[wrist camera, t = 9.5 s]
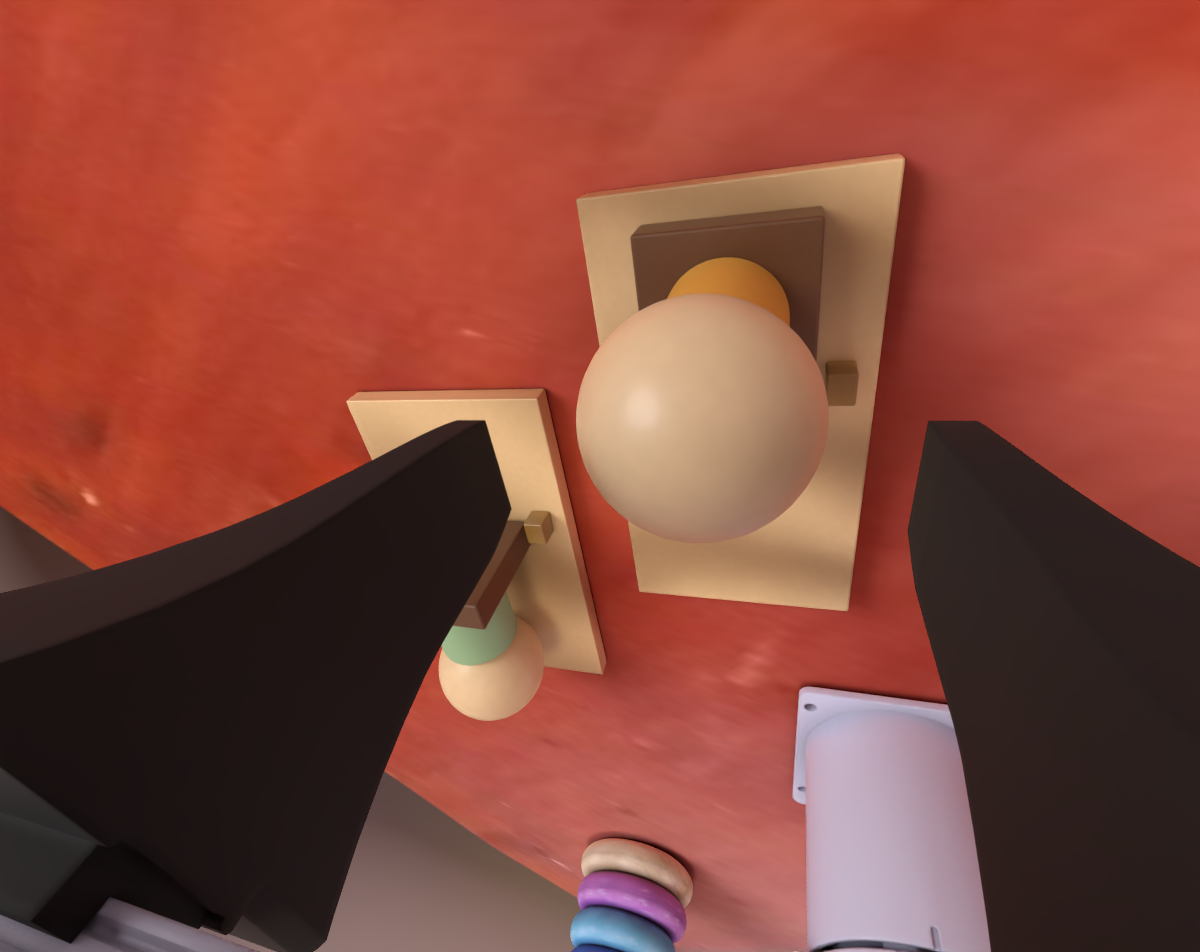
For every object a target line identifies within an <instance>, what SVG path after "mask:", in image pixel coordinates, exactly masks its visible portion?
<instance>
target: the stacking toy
mask: <svg viewBox="0 0 1200 952" xmlns="http://www.w3.org/2000/svg"><path fill="white" fill-rule="evenodd" d="M581 866H582V871H583V874H584V876H585V878H584V879H583V881H582V882H581V884H580V886H579V889H578V903H579V906H580V908H581V911H580V912H579V913H578V914H577V915H576V916H575V918H574V920H573V922H572V926H571V932H570V934H571V940H572V943H573V945H574V947H575V948H574V950H572V951H571V952H675V948H674V945H673V943H675V942H677V941H679V940H680V939H681V938H682V936H683V935H684V933H685V930H686V914H685V911H684V908H685V907H686V906H687V905H688V904H689V902H690V901H691V898H692V894H693V884H692V881H691V878H690V876H689V874H688V872H687V871H686V869H685V868H684V867H683V866H682V865H681V864H680V863H679V862H678V861H677V860H676V859H674V858H673V857H672V856H670V855H669V854H667V853H665V852H663V851H661V850H659V849H657V848H654V847H652V846H649V845H647V844H644V843H640V842H636V841H632V840H627V839H619V838H607V839H601V840H598V841H595V842H593V843H592V844H590V845H589V846H588V847H587V848H586V850H585V852H584V854H583V856H582V862H581Z"/></svg>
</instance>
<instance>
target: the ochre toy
mask: <svg viewBox="0 0 1200 952" xmlns="http://www.w3.org/2000/svg"><path fill="white" fill-rule="evenodd" d="M824 231H825V214H824V209H823V207H822V206H815V207H806V208H797V209H787V210H778V211H768V212H759V213H749V214H740V215H731V216H721V217H712V218H702V219H693V220H683V221H674V222H665V223H655V224H646V225H641V226H639V227H638V228H637V229H636V231H635V232H634V233H633V234H632V235H631V237H630V242H631V250H632V259H633V267H634V276H635V285H636V293H637V302H638V310H639V312H637V313H635V314H634V315H632V316H631V317H629V318H628V319H627V320H626V321H624V322H623V323H622V324H620V325H619V326H618V327H617V328H616V329H615V330H614V331H613V332H612V333H611V334H610V335H609V336H608V337H607V338H606V340H605V341H604V342H603V343H602V345H601V346H600V348H599V349H598V351H597V352H596V353H595V355H594V357H593V359H592V361H591V363H590V365H589V367H588V369H587V371H586V373H585V375H584V378H583V381H582V384H581V388H580V392H579V397H578V403H577V409H576V430H577V438H578V445H579V449H580V452H581V456H582V459H583V462H584V465H585V468H586V470H587V472H588V474H589V476H590V478H591V480H592V482H593V483H594V485H595V486H596V488H597V489H598V491H599V492H600V494H601V495H602V497H603V498H604V499H605V500H606V501H607V502H608V503H609V504H610V505H611V506H612V507H613V509H614V510H615V511H616V512H618V513H619V514H620V515H621V516H623V517H624V518H625V519H627V520H628V521H629V522H631V523H632V524H634V525H635V526H637V527H639V528H641V529H643V530H645V531H647V532H649V533H652V534H654V535H656V536H659V537H662V538H665V539H668V540H673V541H678V542H686V543H715V542H721V541H727V540H731V539H735V538H739V537H742V536H745V535H748V534H750V533H752V532H754V531H756V530H758V529H760V528H762V527H764V526H766V525H767V524H769V523H770V522H772V521H774V520H775V519H776V518H778V517H779V516H780V515H781V514H783V513H784V512H785V511H786V510H787V509H788V508H789V507H791V506H792V505H793V503H794V502H795V501H796V500H797V499H798V498H799V497H800V495H801V494H802V493H803V491H804V490H805V489H806V488H807V486H808V484H809V483H810V481H811V479H812V477H813V476H814V474H815V472H816V470H817V468H818V466H819V463H820V460H821V457H822V454H823V451H824V448H825V445H826V439H827V433H828V400H827V394H826V389H825V385H824V381H823V378H822V375H821V372H820V369H819V367H818V365H817V363H816V362H817V346H818V329H819V313H820V297H821V280H822V264H823V248H824Z"/></svg>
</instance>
